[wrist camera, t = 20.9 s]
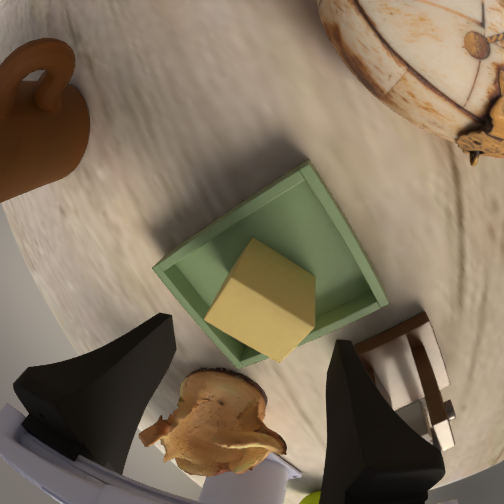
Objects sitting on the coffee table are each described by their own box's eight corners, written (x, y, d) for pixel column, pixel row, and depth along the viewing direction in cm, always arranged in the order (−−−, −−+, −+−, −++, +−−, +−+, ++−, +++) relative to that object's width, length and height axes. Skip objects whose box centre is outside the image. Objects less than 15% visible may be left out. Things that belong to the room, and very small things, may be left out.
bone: (204, 430, 28) (181, 493, 21) (145, 371, 26) (104, 437, 18) (308, 413, 24) (299, 494, 16) (252, 339, 21) (224, 434, 14)
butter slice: (288, 309, 19) (279, 363, 15) (228, 273, 19) (202, 319, 14) (316, 276, 18) (315, 327, 13) (252, 236, 18) (230, 276, 13)
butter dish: (243, 351, 22) (237, 369, 20) (164, 255, 20) (151, 268, 18) (383, 287, 18) (389, 304, 16) (309, 159, 16) (309, 163, 14)
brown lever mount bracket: (446, 374, 20) (470, 448, 13) (374, 406, 22) (380, 482, 15) (424, 310, 18) (460, 394, 11) (337, 352, 20) (339, 442, 13)
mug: (116, 21, 14) (9, -9, 5) (159, 104, 16) (40, 104, 7) (21, 122, 18) (-68, 143, 9) (52, 195, 20) (-40, 239, 11)
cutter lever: (441, 425, 21) (448, 452, 18) (412, 437, 22) (417, 464, 20) (425, 391, 15) (437, 436, 12) (379, 410, 16) (387, 454, 13)
